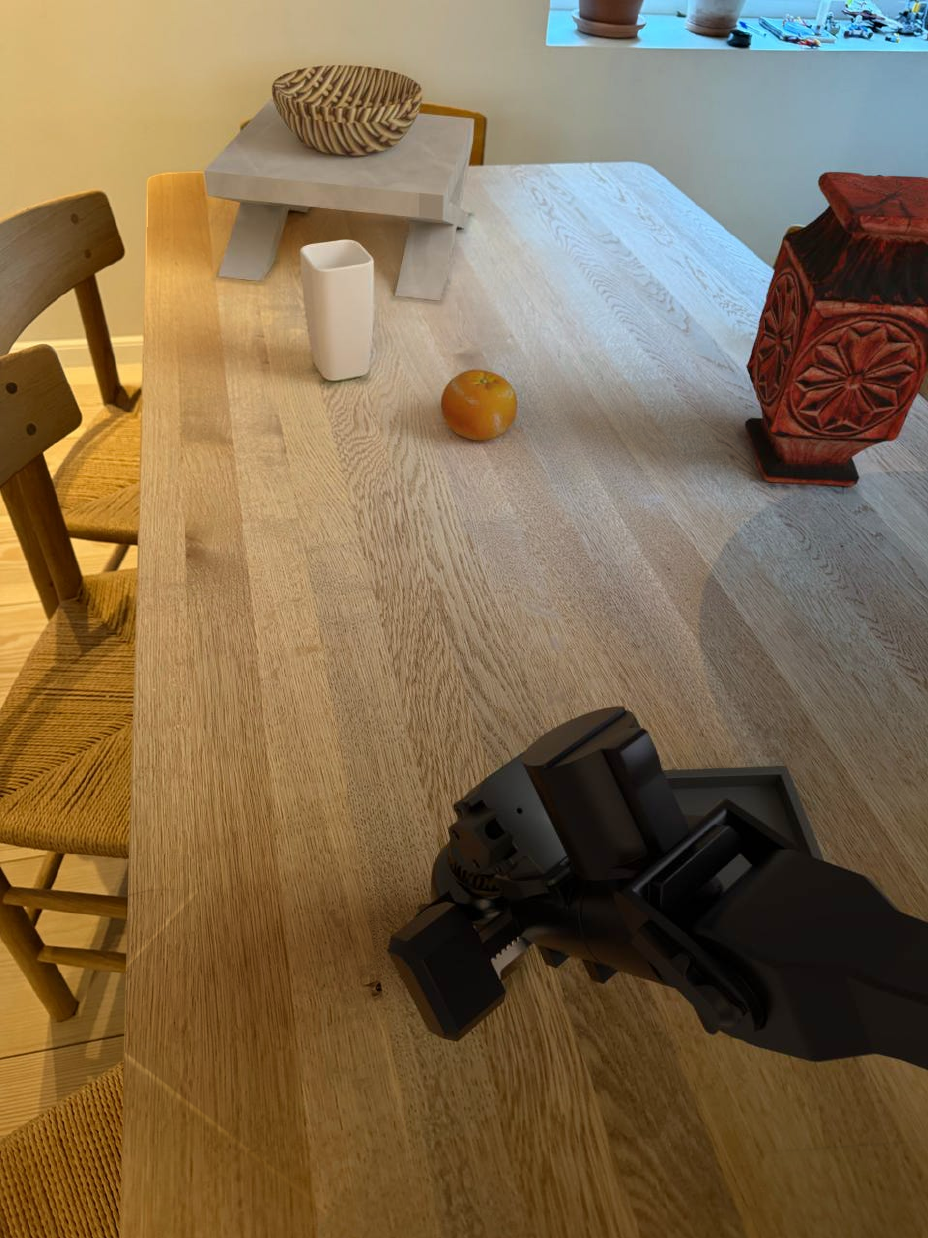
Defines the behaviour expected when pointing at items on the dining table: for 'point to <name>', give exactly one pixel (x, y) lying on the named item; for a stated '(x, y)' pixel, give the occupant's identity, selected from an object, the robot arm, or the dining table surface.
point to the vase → (842, 330)
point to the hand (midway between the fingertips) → (469, 876)
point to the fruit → (479, 405)
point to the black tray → (746, 804)
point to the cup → (339, 307)
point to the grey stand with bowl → (346, 168)
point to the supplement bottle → (470, 892)
